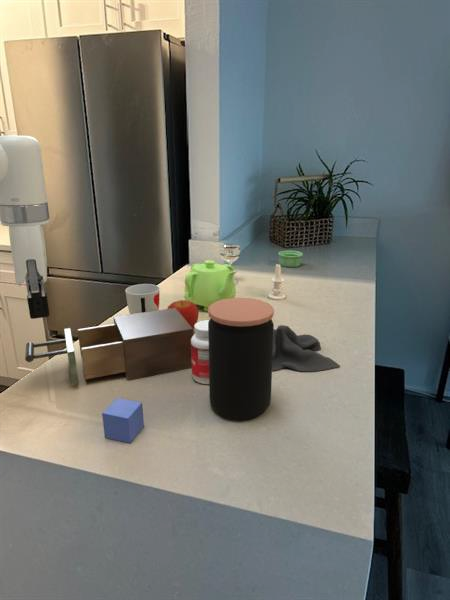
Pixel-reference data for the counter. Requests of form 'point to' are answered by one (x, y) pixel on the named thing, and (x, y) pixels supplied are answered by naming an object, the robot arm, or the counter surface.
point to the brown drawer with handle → (89, 351)
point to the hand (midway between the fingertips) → (40, 316)
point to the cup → (142, 298)
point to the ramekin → (290, 258)
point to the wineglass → (230, 253)
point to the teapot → (209, 283)
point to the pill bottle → (200, 352)
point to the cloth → (298, 352)
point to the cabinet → (155, 342)
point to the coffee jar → (240, 357)
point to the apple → (186, 311)
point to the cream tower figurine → (277, 285)
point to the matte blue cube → (123, 420)
